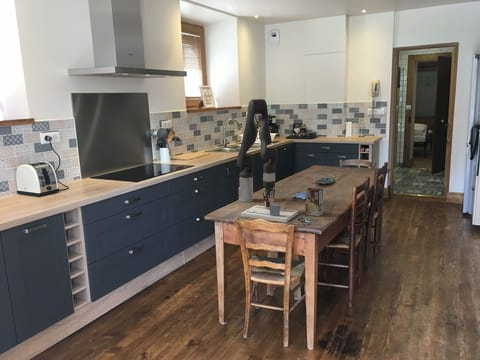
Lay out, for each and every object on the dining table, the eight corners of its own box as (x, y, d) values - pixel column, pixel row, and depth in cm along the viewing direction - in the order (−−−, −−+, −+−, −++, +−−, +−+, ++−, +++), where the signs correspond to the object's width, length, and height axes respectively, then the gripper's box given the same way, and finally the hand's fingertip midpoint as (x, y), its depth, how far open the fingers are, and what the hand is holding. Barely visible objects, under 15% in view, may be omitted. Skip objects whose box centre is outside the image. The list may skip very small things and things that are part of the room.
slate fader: (269, 214, 246) (269, 205, 245) (272, 213, 249) (272, 203, 248) (277, 215, 244) (277, 206, 243) (279, 214, 247) (279, 204, 246)
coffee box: (323, 214, 255) (323, 188, 252) (318, 216, 250) (319, 190, 247) (309, 212, 260) (309, 187, 257) (305, 214, 255) (305, 189, 252)
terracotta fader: (264, 208, 261) (264, 199, 260) (266, 206, 264) (266, 197, 263) (271, 209, 259) (271, 199, 258) (274, 207, 262) (274, 198, 261)
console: (241, 215, 254) (240, 212, 254) (255, 208, 271) (255, 205, 271) (286, 222, 240) (286, 218, 239) (298, 213, 257) (298, 210, 256)
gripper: (268, 177, 266) (268, 203, 269) (258, 181, 254) (258, 208, 257) (279, 178, 262) (279, 204, 266) (269, 182, 250) (269, 209, 253)
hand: (269, 206), depth 261 cm, fingers closed on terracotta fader, 3 cm apart
